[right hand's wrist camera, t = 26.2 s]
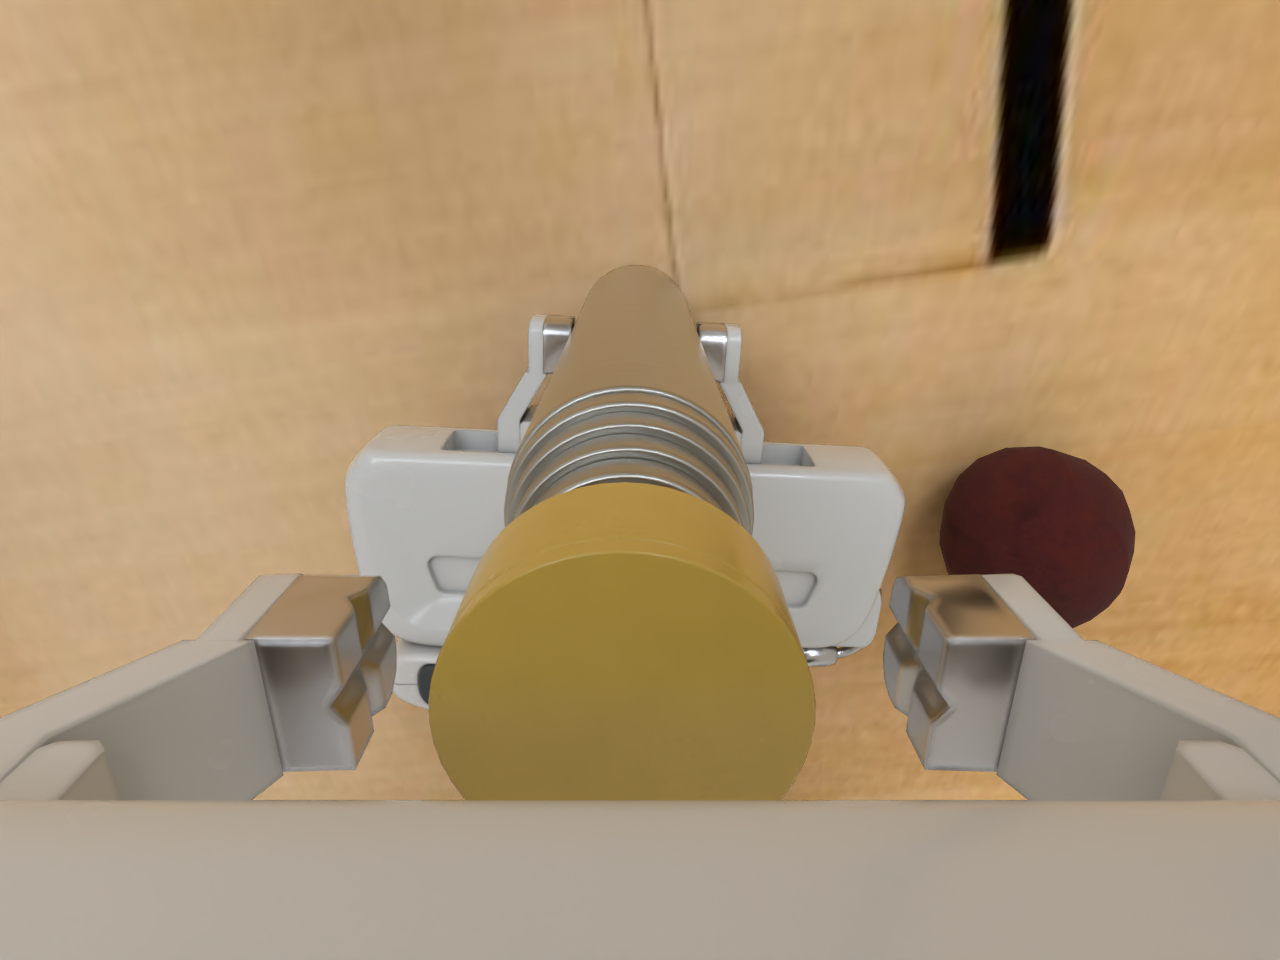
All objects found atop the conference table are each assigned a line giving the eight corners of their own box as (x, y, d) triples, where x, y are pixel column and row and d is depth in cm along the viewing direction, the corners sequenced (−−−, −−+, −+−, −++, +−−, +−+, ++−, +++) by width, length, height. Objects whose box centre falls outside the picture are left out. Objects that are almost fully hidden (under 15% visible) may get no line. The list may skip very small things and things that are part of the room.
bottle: (704, 345, 32) (864, 762, 9) (610, 386, 33) (538, 871, 10) (663, 246, 31) (731, 446, 8) (565, 291, 31) (357, 600, 8)
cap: (573, 798, 11) (560, 914, 9) (400, 577, 10) (347, 664, 8) (837, 678, 10) (879, 780, 8) (689, 419, 9) (701, 477, 7)
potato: (962, 603, 37) (1032, 695, 30) (884, 482, 34) (941, 553, 28) (1105, 522, 35) (1212, 601, 28) (1034, 390, 33) (1133, 443, 26)
